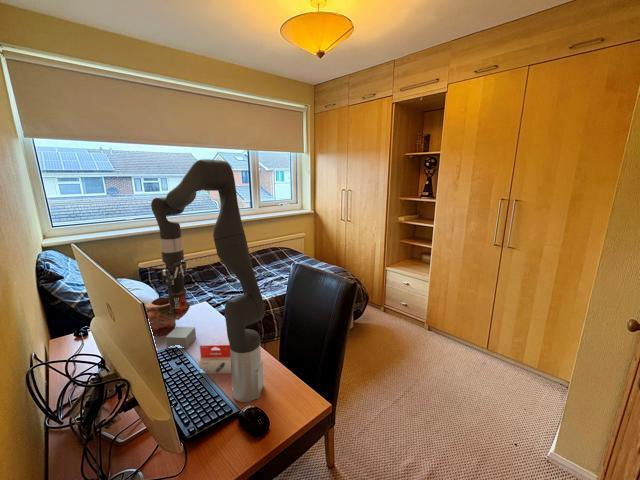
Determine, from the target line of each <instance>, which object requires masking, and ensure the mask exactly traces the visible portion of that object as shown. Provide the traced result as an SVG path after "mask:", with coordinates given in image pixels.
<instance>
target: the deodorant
mask: <svg viewBox="0 0 640 480" xmlns="http://www.w3.org/2000/svg"><path fill="white" fill-rule="evenodd" d="M170 276H173V275H170ZM171 282H172V279H171ZM166 286H167V287H168V285H166ZM174 286H175V293H174V294H169V292H168V291H167V293H168V297H169V303H170V312H171V315H173V316H178V315H182V314H185V313H186V312H187V313H188V311H187V306H186V301H187V299H186V298H187V297H186V287H185V275H184V276H183V275H177V276H176V279H175V281H174ZM187 313H186V314H187ZM186 314H185V315H186Z"/></svg>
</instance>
